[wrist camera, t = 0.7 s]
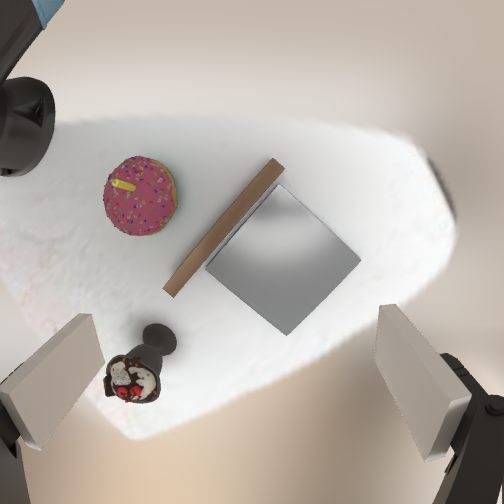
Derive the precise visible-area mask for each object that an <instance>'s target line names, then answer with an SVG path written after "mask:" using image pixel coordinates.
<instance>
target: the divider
mask: <svg viewBox="0 0 504 504" xmlns="http://www.w3.org/2000/svg"><path fill="white" fill-rule="evenodd" d="M284 169H285V168H284V167H283V166H282V165H281V164H279V163H278V162H277V161H276V160H275V159H274V158H272V159H271V160H270V161H269V163H268V164H267V165H266V166H265V167H264V168H263V169H262V170H261V172H260V173H259V174H258V175H257V176H256V177H255V178H254V179H253V181H252V182H251V183H250V184H249V185H248V186H247V188H246V189H245V190H244V191H243V192H242V193H241V194H240V196H239V197H238V198H237V199H236V200H235V201H234V203H233V204H232V205H231V206H230V207H229V208H228V210H227V211H226V212H225V213H224V214H223V215H222V217H221V218H220V219H219V220H218V221H217V222H216V224H215V225H214V226H213V227H212V228H211V230H210V231H209V232H208V233H207V234H206V236H205V237H204V238H203V239H202V240H201V242H200V243H199V244H198V245H197V246H196V248H195V249H194V250H193V251H192V252H191V254H190V255H189V256H188V257H187V259H186V260H185V261H184V262H183V263H182V265H181V266H180V267H179V268H178V270H177V271H176V272H175V273H174V275H173V276H172V277H171V278H170V280H169V281H168V282H167V283H166V284H165V286H164V287H163V288H162V289H164V290H165V291H166V292H167V293H168V294H169V295H171V296H172V297H173V298H174V297H175V296H176V294H177V293H178V292H179V291H180V290H181V288H182V287H183V286H184V285H185V284H186V282H187V281H188V280H189V279H190V278H191V276H192V275H193V274H194V273H195V272H196V270H197V269H198V268H199V267H200V266H201V265H202V263H203V262H204V261H205V260H206V259H207V257H208V256H209V255H210V254H211V253H212V252H213V250H214V249H215V248H216V247H217V246H218V245H219V243H220V242H221V241H222V240H223V239H224V238H225V236H226V235H227V234H228V233H229V232H230V231H231V230H232V228H233V227H234V226H235V225H236V224H237V223H238V221H239V220H240V219H241V218H242V217H243V216H244V215H245V213H246V212H247V211H248V210H249V209H250V208H251V207H252V205H253V204H254V203H255V202H256V201H257V200H258V199H259V197H260V196H261V195H262V194H263V193H264V192H265V191H266V190H267V188H268V187H269V186H270V185H271V184H272V183H273V182H274V181H275V179H276V178H277V177H278V176H279V175H280V174H281V173H282V172H283V170H284Z"/></svg>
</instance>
